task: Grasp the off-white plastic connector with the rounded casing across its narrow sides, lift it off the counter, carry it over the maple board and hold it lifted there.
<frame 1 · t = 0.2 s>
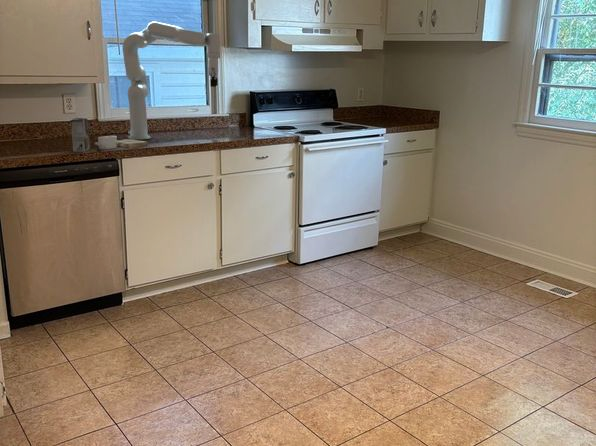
hand: (214, 86, 351), 31 cm above the worktop, tool pointing down, fingers open, 9 cm apart
connector: (108, 147, 322), on the worktop
coffee box: (81, 150, 313), on the worktop
maple board: (129, 145, 332), on the worktop
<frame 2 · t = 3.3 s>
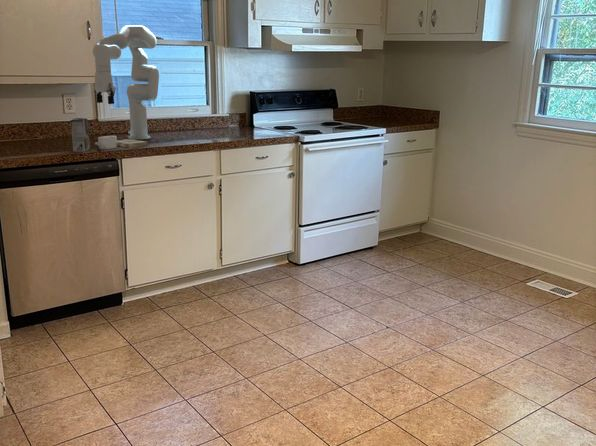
hand: (105, 103, 315), 23 cm above the worktop, tool pointing down, fingers open, 9 cm apart
nothing on the worktop moved.
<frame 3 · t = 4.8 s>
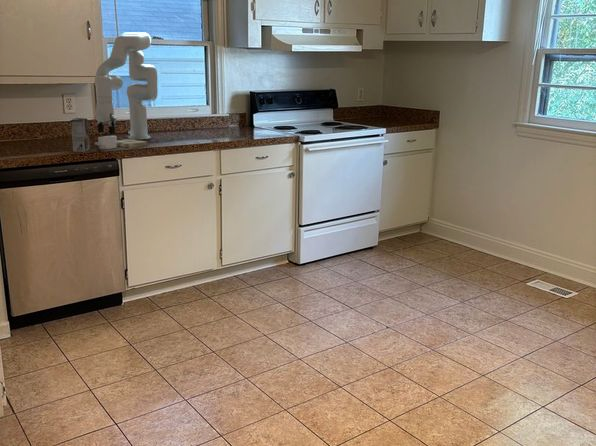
hand: (106, 133, 319), 8 cm above the worktop, tool pointing down, fingers open, 9 cm apart
nothing on the worktop moved.
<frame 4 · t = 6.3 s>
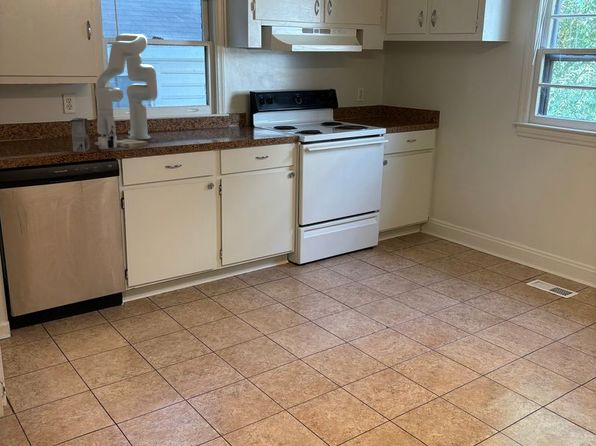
hand: (108, 146, 321), 1 cm above the worktop, tool pointing down, fingers closed on connector, 4 cm apart
connector: (108, 147, 321), on the worktop, touching gripper
everything else where it was.
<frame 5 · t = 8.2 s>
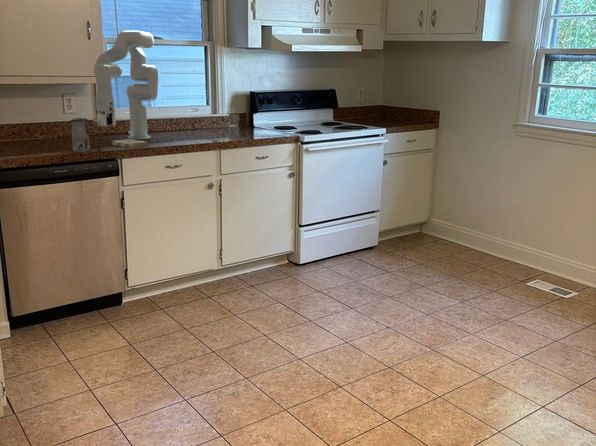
hand: (106, 123, 318), 13 cm above the worktop, tool pointing down, fingers closed on connector, 4 cm apart
connector: (107, 125, 319), point 12 cm above the worktop, touching gripper
everything else where it was.
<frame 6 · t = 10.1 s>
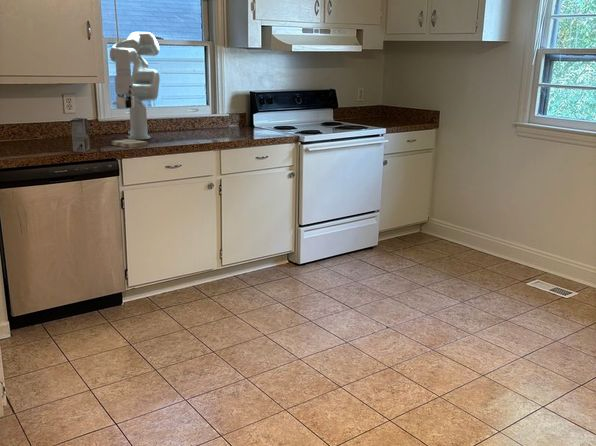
hand: (125, 107, 326), 21 cm above the worktop, tool pointing down, fingers closed on connector, 4 cm apart
connector: (125, 108, 326), point 20 cm above the worktop, touching gripper
everything else where it was.
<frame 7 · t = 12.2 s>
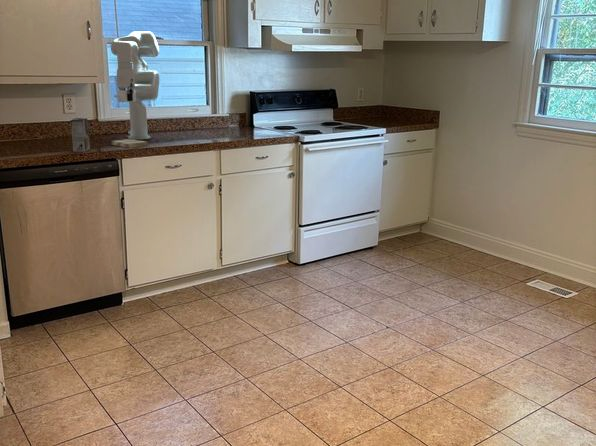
hand: (127, 100, 326), 24 cm above the worktop, tool pointing down, fingers closed on connector, 4 cm apart
connector: (127, 101, 326), point 24 cm above the worktop, touching gripper
everything else where it was.
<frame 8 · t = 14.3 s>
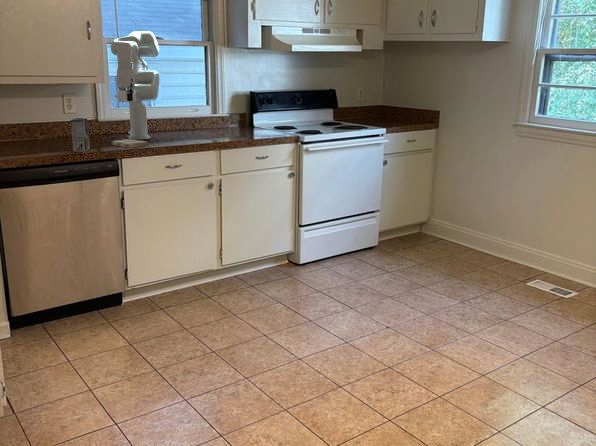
hand: (127, 100, 326), 24 cm above the worktop, tool pointing down, fingers closed on connector, 4 cm apart
connector: (127, 101, 326), point 24 cm above the worktop, touching gripper
everything else where it was.
at the end: the gripper is holding connector; connector inside the target area on the maple board (0.0 cm from its centre), point 23.7 cm above the maple board's base; connector tilted 0° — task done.
